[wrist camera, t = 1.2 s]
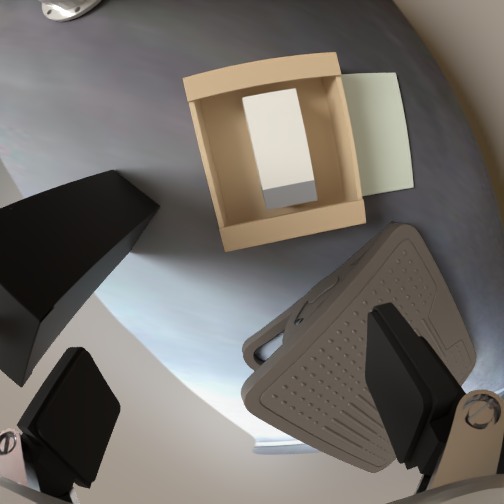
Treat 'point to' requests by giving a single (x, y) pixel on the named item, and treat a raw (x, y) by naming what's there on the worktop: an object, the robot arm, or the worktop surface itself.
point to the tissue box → (61, 259)
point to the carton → (242, 157)
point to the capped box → (280, 148)
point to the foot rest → (352, 348)
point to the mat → (378, 132)
